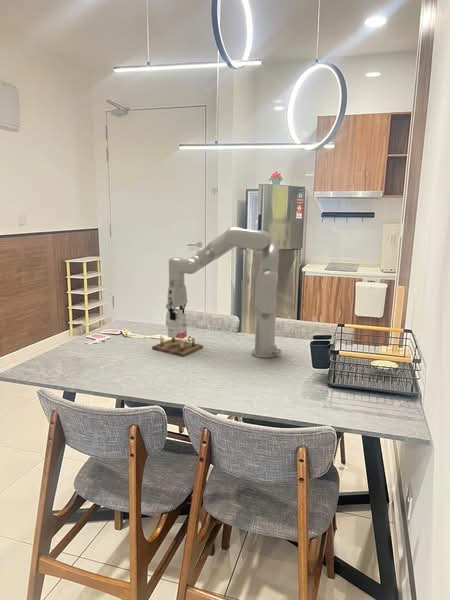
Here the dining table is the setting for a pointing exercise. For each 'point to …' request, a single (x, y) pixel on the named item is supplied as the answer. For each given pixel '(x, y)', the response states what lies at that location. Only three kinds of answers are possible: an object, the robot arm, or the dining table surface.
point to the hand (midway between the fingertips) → (177, 318)
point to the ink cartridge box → (177, 325)
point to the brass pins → (180, 343)
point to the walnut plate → (177, 347)
